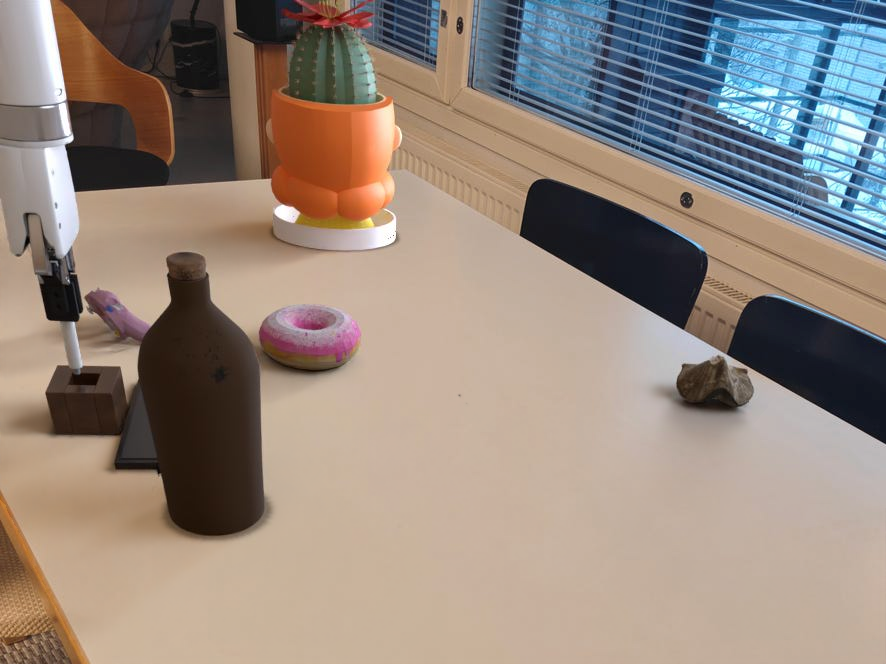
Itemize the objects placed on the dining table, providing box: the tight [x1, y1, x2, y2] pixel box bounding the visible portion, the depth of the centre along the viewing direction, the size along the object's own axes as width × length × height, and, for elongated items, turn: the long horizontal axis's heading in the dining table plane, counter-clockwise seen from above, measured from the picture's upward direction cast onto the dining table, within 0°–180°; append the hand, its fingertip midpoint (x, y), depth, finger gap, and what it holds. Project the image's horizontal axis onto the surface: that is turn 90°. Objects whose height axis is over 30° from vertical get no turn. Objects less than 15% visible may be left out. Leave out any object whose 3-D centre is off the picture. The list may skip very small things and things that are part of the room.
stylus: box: [50, 261, 84, 375], centre depth 94 cm, size 1×1×12 cm
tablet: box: [113, 377, 158, 470], centre depth 103 cm, size 11×20×1 cm, turn 9°
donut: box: [258, 303, 362, 371], centre depth 119 cm, size 14×13×5 cm
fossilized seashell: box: [675, 354, 755, 408], centre depth 119 cm, size 8×7×10 cm
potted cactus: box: [265, 0, 403, 251], centre depth 145 cm, size 22×22×35 cm
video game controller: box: [83, 286, 152, 343], centre depth 118 cm, size 10×5×7 cm, turn 42°
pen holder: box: [44, 364, 129, 435], centre depth 100 cm, size 7×7×5 cm
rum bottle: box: [137, 251, 265, 537], centre depth 82 cm, size 11×11×25 cm
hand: (65, 315), depth 94 cm, fingers closed on stylus, 1 cm apart
